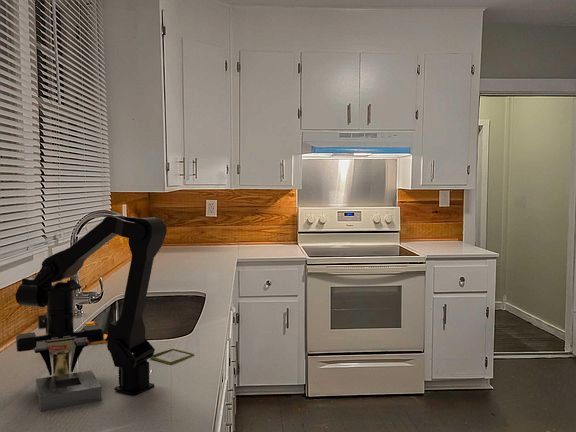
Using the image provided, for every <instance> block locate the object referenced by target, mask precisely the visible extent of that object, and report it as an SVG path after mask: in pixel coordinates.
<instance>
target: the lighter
mask: <svg viewBox="0 0 576 432" xmlns="http://www.w3.org/2000/svg"><path fill="white" fill-rule="evenodd" d="M45 335H47V333H46V332H45ZM64 337H65V336H64ZM66 337H70V336H66ZM57 338H58V337H57ZM51 339H55V338H51ZM47 346H48V348H49V354H53V353H54V352H56V351H69V352H72V340H68V341H60V342H52V343H47Z"/></svg>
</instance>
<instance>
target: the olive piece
mask: <svg viewBox="0 0 576 432" xmlns="http://www.w3.org/2000/svg"><path fill="white" fill-rule="evenodd" d="M172 351H174V352H178V353H182V354H185V355H188V356H184V357H181V358H179V359H174V360H172V361H168V360H165V359H161V358H158V357H159V356H162V355H164V354H167V353H169V352H172ZM193 356H195V353H192V352H188V351H184V350H181V349H175V348H169V349H167V350H163V351H161V352H157V353H155V354H153V357H152V358H150V359H151V360H153V361H157V362H160V363H165V364H168V365H173V364H176V363H178V362H180V361H183V360H185V359H189V358H191V357H193Z"/></svg>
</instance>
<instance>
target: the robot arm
mask: <svg viewBox="0 0 576 432" xmlns="http://www.w3.org/2000/svg"><path fill="white" fill-rule="evenodd" d="M167 230H168V229H167V225H166V224H165V222H164V221H163V220H162V219H161V218H159V217H154V216H153V217H141V218H138V217H133V216H126V215H123V214H110V215H109V214H108V215H107V216H105V217H104V219H103V220H102V221H101V222H100V223H97V225H96V226H95V227H94V228H92V229H91V230H89V231H88V232H87V233H85V235H83V236H82V237H81V238H79V239H78V240H77V241H76V242H74V243H73V244H72V245H71V246H69V247H68V248H66V249H62V250H60V251H57V252H56V253H54V254H51V255H50V256H48V257H46V258H44V259H43V261H42V262H41V268H40V270H39V271H38V273H37V274H36V275H35V277H31V276H30V277H24V278H22V279H21V284H20V285H18V287H17V289H16V292H15V295H14V296H15V301H16V303H17V304H18V305H19V306H20V307H21V306H23V307H34V308H35V307H36V308H44V307H46V314H42V315H40V314H39V315H38V316H37V327H38V330H44V329H45V334H44V335H36V333H35V332H34V331H33V332H27V333H18V334H17V335H16V336H15V346H16V347H15V348H16V351H17V352H21V353H22V352H28V351H34V353H35V354H39V355H41V358H42V360H43V361H44V364H45V366H46V369H47V371H48V374H49V376H53V366H52V363H51V362H52V361H51V356H50V354H51V353H49V348H48V346H47V343H52V342H60V341H68V340H72V350H71V355H70V363H69V368H70V372H71V373H74V370H75V368H76V365H77V363H78V360H79V357H80V356H81V354H82V351H83V349H84V348H85V347H88V346H89V344H88V343H87V340H88V341H90V343H91V342H97V341H103V340H104V334H105V333H104V330H103V328H101V326H99V324H95V325H92V326H85V325H83V328H82V330H78V331H74V329H75V328H74V291H77V290H81V289H82V285H80V284H79V283H78V282H77V281H76V280H75V279H70V278H73V277H75V276H76V274H78V272H79V271H80V270H81V269H82V268H83V266H84V263H85V261H86V260H87V259H88V258H89V257H90V256H92V255H93V254H94V253H96V252H97V251H99V250H100V249H101V248H102V247H103V246H105V245H106V244H107V243H108V242H110V241H111V240H112V239H114V238H115V237H116V236H119V237H122V238H127V239H128V242H127V243H128V246H129V251H130V253H131V260H130V265H129V269H128V270H129V271H128V276H127V280H126V285H125V290H124V291H125V292H124V296H123V302H122V306H121V310H120V316H119V318H118V319H117V320H115V321H112V322H110V323H109V324H108V327H107V338H106V339H105V341H108V342H107V343H106V347H107V350H108V351H109V353H110V357H111V358H112V361H113V365H114V367H115V368H118V385H117V386H114V388H113V390H114V391H117V392H120V393H125V394H126V395H131V396H136V395H138V394H141V393H143V392H145V391H148V390H149V389H152V388H154V387H155V383H151V382H150V362H149V361H148V360H149V359H151V358H152V357H153V355H154V353H155V350H156V349H155V348H154V346H153V345H152V344H151V343H150V341H148V339H147V338H146V326H145V322H144V320H143V315H144V310H145V304H146V299H147V295H148V289H149V283H150V278H151V274H152V269H153V265H154V264H153V263H154V259H155V257H156V255H157V254H158V252H159V251H160V249H161V247H162V246H163V243H164V241H165V239H166V236H167ZM66 279H67V281H66V282H65V281H64V282H63V280H66ZM68 279H69V280H68ZM61 281H62V282H61ZM53 283H54V284H53ZM46 333H47V335H46ZM64 336H65V337H64ZM66 336H70V337H66ZM57 337H58V338H57ZM51 338H55V339H51Z"/></svg>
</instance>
